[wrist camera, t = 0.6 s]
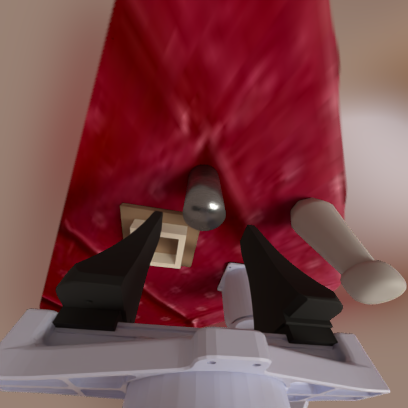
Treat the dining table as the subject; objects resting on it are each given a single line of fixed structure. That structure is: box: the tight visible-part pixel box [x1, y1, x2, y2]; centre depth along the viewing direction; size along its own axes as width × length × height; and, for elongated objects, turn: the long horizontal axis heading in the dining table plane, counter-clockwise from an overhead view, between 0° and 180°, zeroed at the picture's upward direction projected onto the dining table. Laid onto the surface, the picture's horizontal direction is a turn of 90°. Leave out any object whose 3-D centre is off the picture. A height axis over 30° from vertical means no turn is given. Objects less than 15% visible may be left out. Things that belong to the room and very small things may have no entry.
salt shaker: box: [291, 198, 406, 304], centre depth 19 cm, size 6×6×13 cm
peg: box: [183, 165, 226, 231], centre depth 19 cm, size 4×4×8 cm
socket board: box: [120, 203, 200, 269], centre depth 27 cm, size 12×12×3 cm
